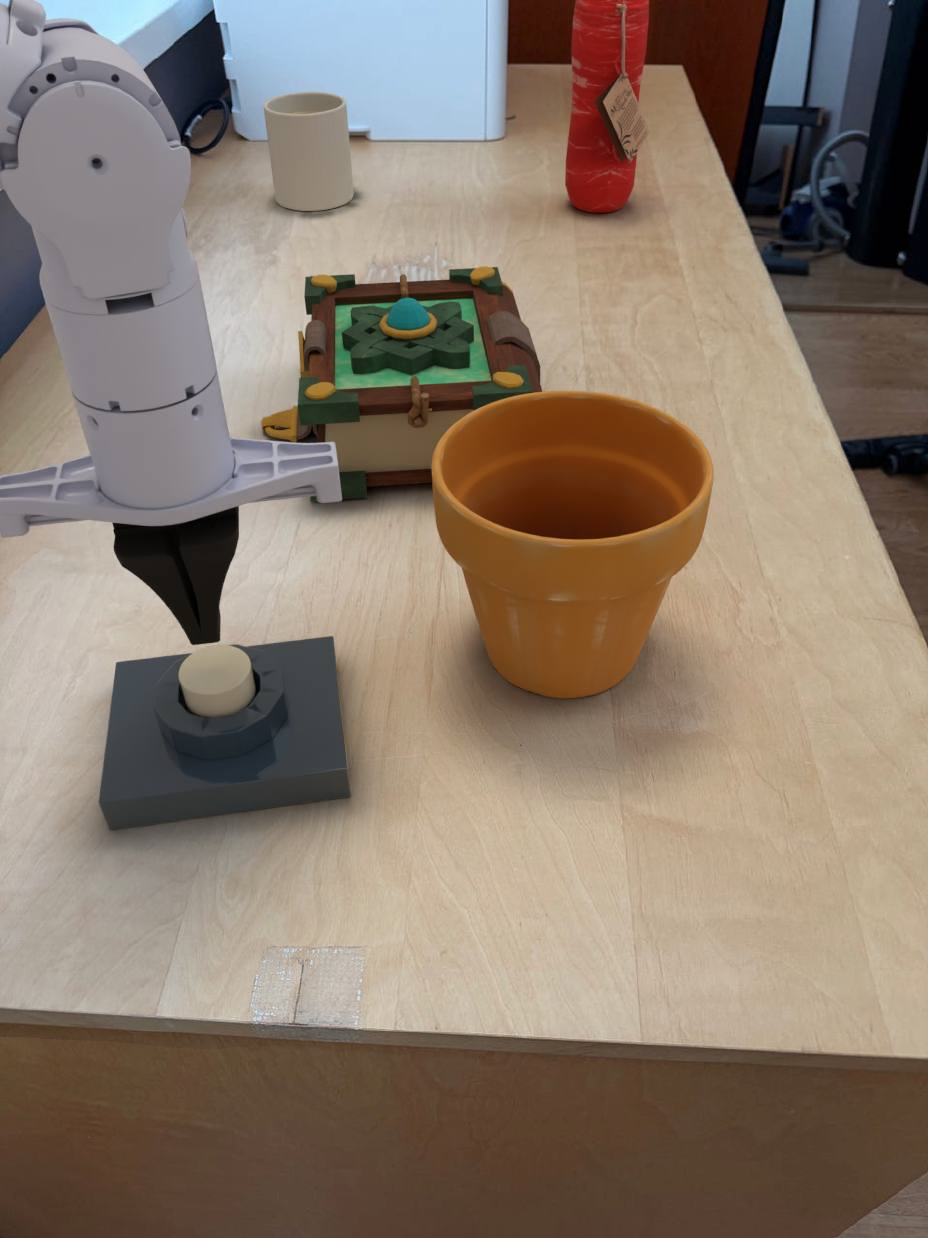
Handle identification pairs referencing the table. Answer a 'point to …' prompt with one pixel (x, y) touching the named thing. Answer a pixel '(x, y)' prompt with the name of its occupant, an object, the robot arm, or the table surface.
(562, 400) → the flower pot
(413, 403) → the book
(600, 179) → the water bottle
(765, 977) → the table surface
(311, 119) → the mug
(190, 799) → the push button base
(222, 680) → the cream cylinder puck
